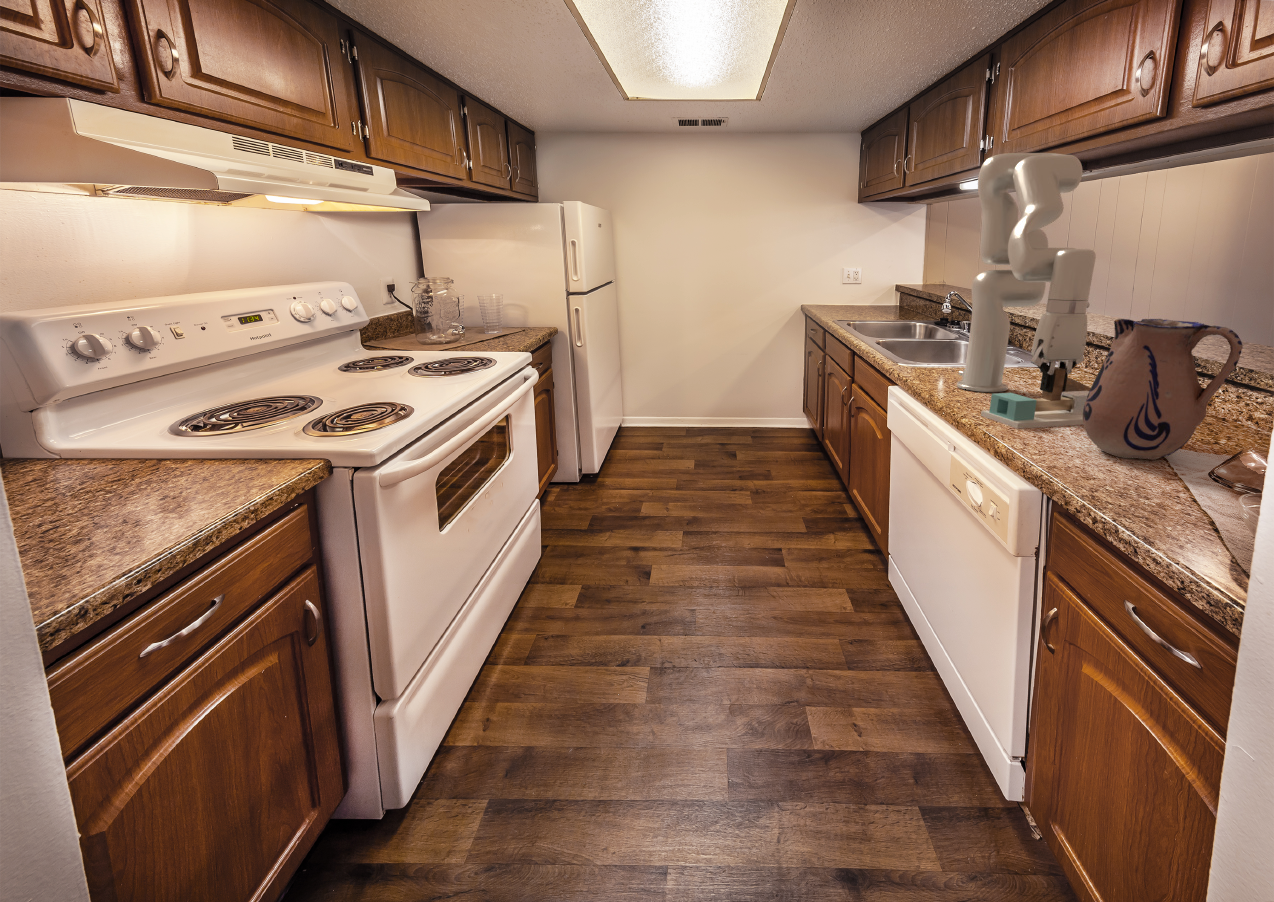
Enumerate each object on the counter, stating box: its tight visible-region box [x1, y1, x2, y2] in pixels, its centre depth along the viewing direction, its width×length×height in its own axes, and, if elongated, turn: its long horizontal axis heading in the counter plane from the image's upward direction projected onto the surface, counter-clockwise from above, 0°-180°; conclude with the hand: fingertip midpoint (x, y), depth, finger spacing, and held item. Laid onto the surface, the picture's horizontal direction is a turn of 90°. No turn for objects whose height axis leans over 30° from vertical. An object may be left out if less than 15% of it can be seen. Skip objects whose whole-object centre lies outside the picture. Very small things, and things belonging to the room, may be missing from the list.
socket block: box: [989, 392, 1037, 421], centre depth 155 cm, size 5×8×4 cm, turn 11°
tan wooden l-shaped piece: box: [1034, 366, 1073, 412], centre depth 156 cm, size 17×3×9 cm, turn 101°
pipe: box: [1064, 376, 1091, 392], centre depth 174 cm, size 6×17×10 cm
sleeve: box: [1058, 391, 1089, 415], centre depth 158 cm, size 7×4×4 cm, turn 101°
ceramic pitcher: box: [1083, 318, 1244, 461], centre depth 127 cm, size 18×21×25 cm
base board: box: [980, 409, 1084, 429], centre depth 157 cm, size 26×12×1 cm, turn 101°
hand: (1052, 390), depth 156 cm, fingers closed on tan wooden l-shaped piece, 2 cm apart
